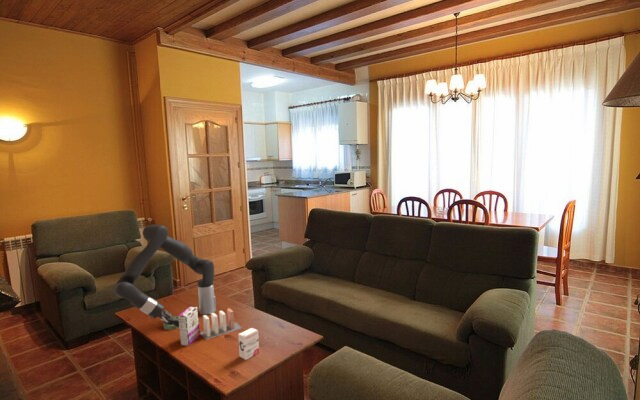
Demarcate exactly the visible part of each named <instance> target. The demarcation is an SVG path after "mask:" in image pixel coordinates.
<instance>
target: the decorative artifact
mask: <svg viewBox="0 0 640 400" xmlns="http://www.w3.org/2000/svg"><path fill="white" fill-rule="evenodd" d="M173 316H174V318H175V319H176V320H177V321H179V320H178V315H173ZM178 328H179V327H177V326H175V325H174V324H172V325H169V324H165V323H164V322H163V330H165V331H167V330H169V331H171V330H176V329H178Z"/></svg>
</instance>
